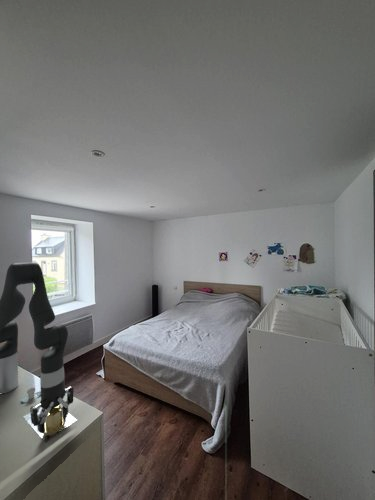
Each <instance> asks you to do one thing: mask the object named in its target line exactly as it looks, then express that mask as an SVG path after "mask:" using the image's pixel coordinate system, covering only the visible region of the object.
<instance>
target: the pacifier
mask: <svg viewBox="0 0 375 500" xmlns="http://www.w3.org/2000/svg"><path fill="white" fill-rule="evenodd" d="M26 393H27V395H26V396H24V397H22V398H21V400H20V401H21V403H23V404H24V403H27V401H26V400H27V398H28V400H31V399H34V398H35V395H37V397H36V399H38V398H40V397H41V391H37V392H36V388H35V387H34V386H33V387H30V388H28V389H27V391H26Z"/></svg>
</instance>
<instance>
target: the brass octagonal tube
mask: <svg viewBox="0 0 375 500" xmlns="http://www.w3.org/2000/svg"><path fill="white" fill-rule="evenodd" d="M62 407H63V406H61V404H59V406H57V407H55V408H54V409H53V410H51V411H50V412H49V414H48V416H46V418H45V420H46V422H45V432H44V433H43V434H44V435H45V436H47V435H52V434H55V433H57V432H58V431H59V430H61V429H62V428H63V427H64V425H65V423H66V418H64V417H63V416H62Z"/></svg>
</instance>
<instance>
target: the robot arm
mask: <svg viewBox="0 0 375 500" xmlns="http://www.w3.org/2000/svg"><path fill="white" fill-rule="evenodd" d="M26 284H28V285H29V284H33V285H34V291H33V294H32V296H31V299H30V301H29V304H28V311H29V315H30V317H31V321H32V322H33V328H34V329H33V333H34V335H33V344H34V346H35V349H37V350H40V351H44V350H47V349H49V348H51V349H50V350H48V351H47V352H45V353H44V354H42V356H41V357H40V378H39V379H40V380H39V381H40V392H41V395H40V402H39V403H38V404H37V405H35V406H33V405H32V406H30V410H29V413H31V423H32V424H33V425H34V426H37V425H38V430H39V432H40V433H42V434H43V433H44V432H45V422H44V421H45V418H46V416H48V414H49V412H50V411H51V410H53V409H54V408H55V407H57V406H59V405H60V406H61V405H62V406H61V407H62V416H63V417H64V418H66V417H67V415H68V413H69V406H70V405H71V404H73V402H74V387H73V386H71V385H68V386H67V388H66V387H65V386H66V385H65V384H66V382H65V381H66V380H65V368H64V367H65V366H64V352H65V348H66V345H67V340H68V338H69V331H68V328H67V326H65V324H56V325H54V326H53V325H52V326H50V327H47V328H45V327H46V326H48V325H50V324H51V323H52V322H54V321H55V319H56V316H55V311H54V310H53V307H52V305H51V302H50V300H49V296H48V292H47V288H46V283H45V279H44V274H43V270H42V268H41V266H40V264H39V263H38V262H34V261H33V262H32V261H31V262H30V261H29V262H16V263H12V264H9V266H8V268H7V270H6V274H5V281H4V286H3V290H2V294H1V296H0V344H2V343H4V342H5V343H4V344H2V346H0V393H4V394H7V393H9V392H12V391H13V390H15V389H16V388H17V387H18V385H19V361H18V360H19V357H18V347H19V343H18V342H19V341H18V339H19V326H18V325H19V324H18V323H17V322H16V321H15V319H17V317H18V316H20V315H21V314H22V312H23V309H24V307H25V304H26V297H25V296H24V293H23V294H22V292H21V291H19V290H18V288H17V287H18V286H20V285H26ZM66 394H67V395H66ZM65 396H66V401H65V400H64V398H65ZM40 407H42V409H41V411H40V415H39V417H38V414H37V413H38V412H39V409H40ZM45 410H46V411H45Z"/></svg>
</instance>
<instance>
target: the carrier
mask: <svg viewBox="0 0 375 500" xmlns="http://www.w3.org/2000/svg"><path fill="white" fill-rule="evenodd" d="M41 409H42V407H40V409H39V412H38V413H37V414H38V417H39V415H40V411H41ZM45 411H46V410H45ZM22 419H24V420H25V421H26V423H27V424H28V425H29V426H30V427H31V428H32V429H33V431H34V432H36V434H38V436H39V437H40V438H41V439H42V440H43V441H44V443H47V442H49V441H50V440H51V439H53V438H54V437H55V436H57V435H59V434H60V433H61V432H63V431H64V430H65V429H66V428H68V427H70V426H71V425H72V424H74V423H75V422H76V421H78V419H77V418H75V417H74V415H72V414H71V413H69V412H68V415H67V417H66V423H65V425H64V427H63V428H62V429H61V430H59V431H58V432H57V433H55V434H52V435H47V436H45V435H44V434H42V433H40V432H39V430H38V425H37V426H34V425H33V424H32V423H31V413H30V412H29V413H27V414H26V415H25V414H24V415H23V417H22ZM44 422H46V420H45V421H44Z"/></svg>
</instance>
